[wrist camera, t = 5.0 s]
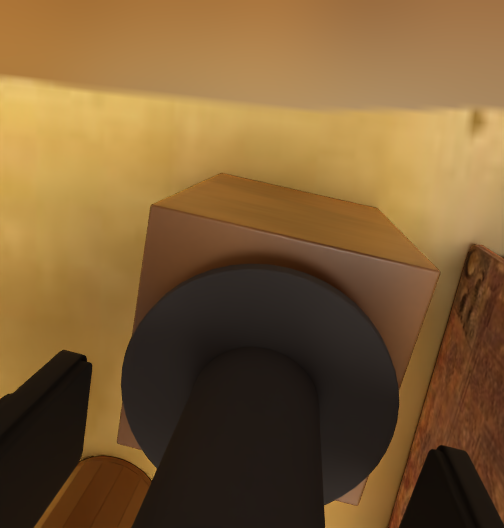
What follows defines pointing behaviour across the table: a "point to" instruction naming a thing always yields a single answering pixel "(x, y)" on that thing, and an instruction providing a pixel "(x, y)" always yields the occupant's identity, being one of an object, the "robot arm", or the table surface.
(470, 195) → the table surface
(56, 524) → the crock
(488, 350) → the book
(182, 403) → the bung
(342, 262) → the stand
